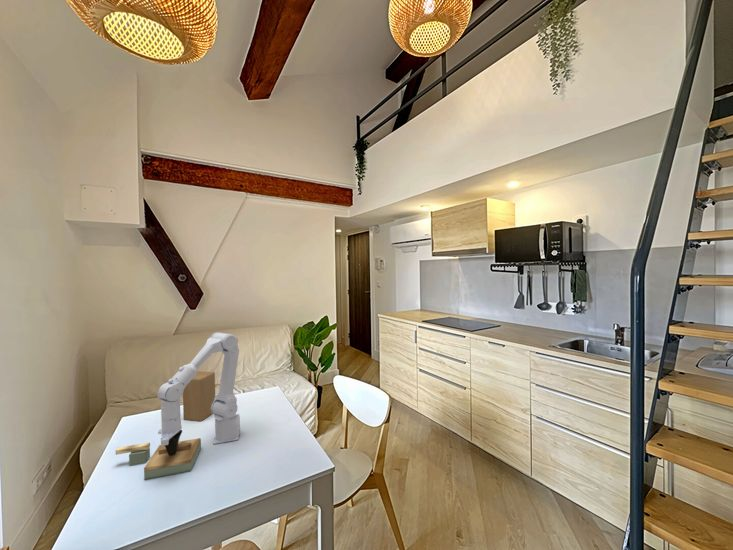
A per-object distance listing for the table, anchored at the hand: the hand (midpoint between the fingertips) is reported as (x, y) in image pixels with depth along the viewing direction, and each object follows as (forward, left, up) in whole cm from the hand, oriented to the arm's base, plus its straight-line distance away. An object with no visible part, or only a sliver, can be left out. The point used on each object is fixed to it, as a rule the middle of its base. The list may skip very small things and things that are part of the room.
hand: (172, 454), depth 106 cm
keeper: (+13, -8, -5) cm, 16 cm away
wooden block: (0, -39, -5) cm, 40 cm away
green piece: (0, -2, -5) cm, 5 cm away
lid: (0, -2, -2) cm, 3 cm away
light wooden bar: (+15, -8, 0) cm, 17 cm away
